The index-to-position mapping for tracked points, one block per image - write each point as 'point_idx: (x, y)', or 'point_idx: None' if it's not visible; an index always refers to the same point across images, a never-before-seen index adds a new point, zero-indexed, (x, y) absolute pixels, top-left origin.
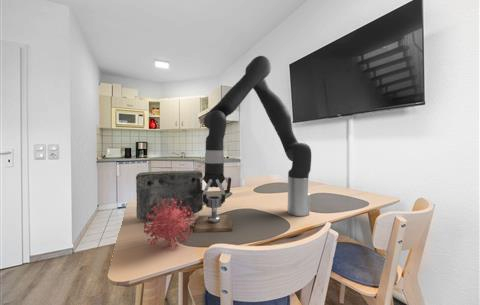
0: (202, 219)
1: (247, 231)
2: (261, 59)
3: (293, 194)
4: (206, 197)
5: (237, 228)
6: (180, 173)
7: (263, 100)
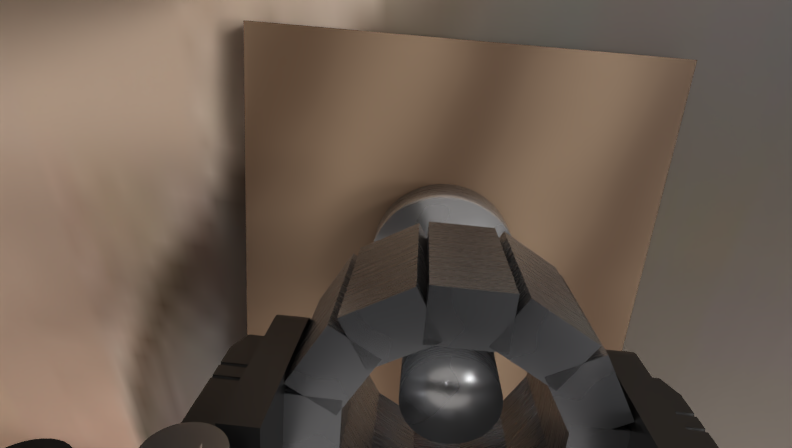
0: (309, 175)
1: (723, 440)
2: None
3: None
4: (282, 417)
5: (656, 371)
6: None
7: None
